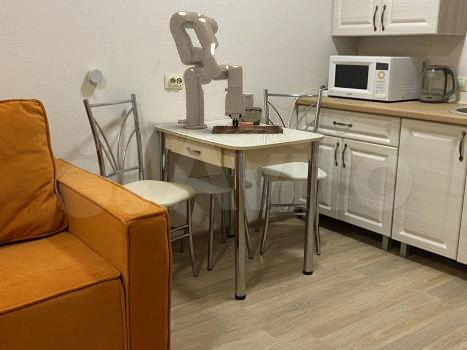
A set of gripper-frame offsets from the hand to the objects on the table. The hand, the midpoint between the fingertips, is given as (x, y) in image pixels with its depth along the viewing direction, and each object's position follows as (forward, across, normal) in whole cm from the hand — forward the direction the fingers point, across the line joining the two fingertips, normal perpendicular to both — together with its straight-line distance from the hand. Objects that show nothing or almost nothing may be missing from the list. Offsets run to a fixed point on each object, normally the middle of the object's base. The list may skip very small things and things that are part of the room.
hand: (235, 127), depth 261 cm
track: (+2, +6, 0) cm, 6 cm away
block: (+2, +5, +1) cm, 6 cm away
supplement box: (+2, +4, +29) cm, 30 cm away
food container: (+2, +8, +20) cm, 22 cm away
